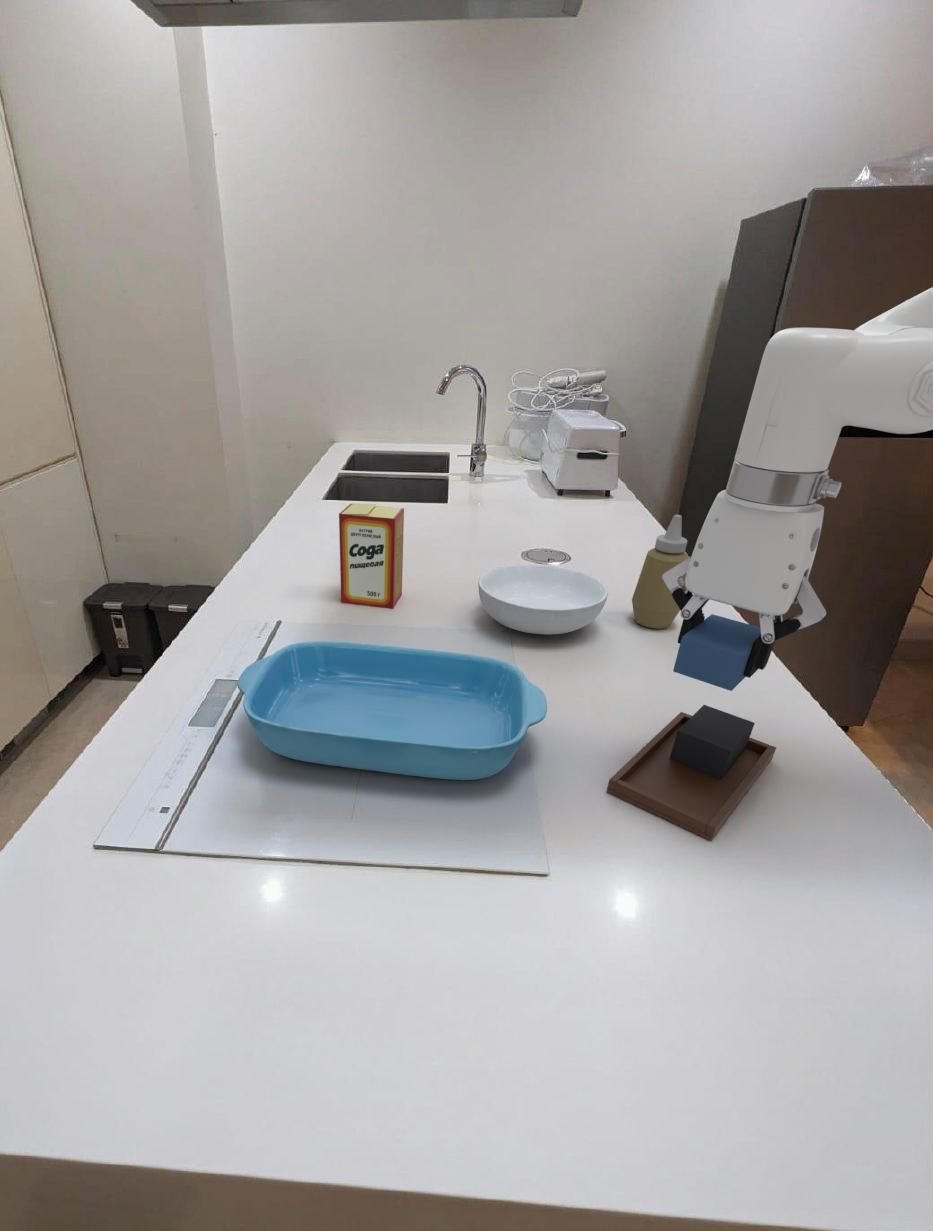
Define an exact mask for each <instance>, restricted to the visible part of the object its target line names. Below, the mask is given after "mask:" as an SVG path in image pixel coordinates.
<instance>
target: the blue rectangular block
mask: <svg viewBox="0 0 933 1231" xmlns="http://www.w3.org/2000/svg"><path fill="white" fill-rule="evenodd" d="M760 633H761V631H760V626H757V625H753V624H749V623H746V622H742V621H739V620H736V619H731V618H726V617H724V616H720V615H716V614H714V613H711V614H710V615H709V616H707V617H705V619H704V621H703V622H702V623H700V624H699V625H698V626H696V627H695V628H694V629H692V630H690V631H689V632H688V633H686V634H685V635H684V636H683V637H682V639H681V643H679V647H678V651H677V654H676V658H675V662H674V666H673V670H672V672H673V673H676V674H679V675H682V676H685V677H688V678H691V679H694V680H697V681H700V682H702V683H703V682H704V683H706V684H709V685H712V686H715V687H717V688H721V689H723V690H726V691H730V692H732V691H734V689H735V688H736V687H737V686H738V685H739V684H740V683H741V682H742V681H743V680H745V678H746V677H745V676H744V675H743V673H744V670H745V667H746V664H747V661H748V658H749V655H750V652H751V649H752V644H753V642H754V641H755V640H756V639H757V638H758V637H759V635H760Z"/></svg>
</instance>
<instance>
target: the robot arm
mask: <svg viewBox="0 0 933 1231" xmlns="http://www.w3.org/2000/svg"><path fill="white" fill-rule="evenodd" d="M845 426H846V427H847V426H851V427H856V428H863V429H868V430H869V429H870V430H875V431H880V432H885V433H891V434H898V435H912V434H920V433H925V432H928V431H932V430H933V286H932V287H930V288H928V289H926V290H924V291H922V292H920V293H919V294H917V295H914V296H913V297H911V298H909V299H906V300H905V301H903V302H901V303H900V304H898V305H896V306H894V307H892V308H891V309H888V310H887V311H885V312H883V313H881V314H879V315H878V316H877V315H876V317H874V318H872V319H870V320H868V321H867V322H865V323H863V324H861V325H859V326H858V327H856V328H855V329H844V328H832V327H831V328H830V327H790V328H785V329H781V330H779V331H777V332H776V333H775V334H773V336H771V338H769V341H768V342H767V344H766V346H765V348H764V351H763V354H762V357H761V361H760V364H759V368H758V372H757V375H756V379H755V383H754V386H753V390H752V394H751V397H750V400H749V404H748V409H747V411H746V415H745V420H744V422H743V426H742V430H741V433H740V437H739V441H738V445H737V448H736V451H735V455H734V460H733V463H732V466H731V469H730V472H729V477H728V480H727V484H726V489H723V490H721V491H719V492H718V493H717V495H716V496H715V499H714V501H713V502H712V504H711V506H710V508H709V511H708V513H707V515H706V518H705V520H704V522H703V525H702V526H701V529H700V532H699V535H698V537H697V540H696V542H695V545H694V548H693V551H692V554H691V555H690V556H689V558H688V559H686V560H684V561H683V562H681V563H680V564H678V565H676V566H675V567H673V568H671V569H670V570H668V571H666V572H665V573H664V574H663V575H662V579H663V581H664V582H665V584H666V586H667V587H668V589H669V590H670V591H671V592H672V597H673V599H674V600H675V602H676V604H677V605H678V607H679V609H680V612H679V614H680V617H681V618H682V619H683V620H682V623H681V627H680V630H679V633H678V637H677V644H680V643H681V639H682V637H683V636H684V635H685V634H686V633H688V632H689V631H690V630H692V629H694V628H695V627H696V626H698V625H699V624H700V623H702V622H703V621H704V620H705V619H706V616H705V613H703V612H704V611H703V608H704V607H705V606H706V605H707V604H708V602H710V601H714V602H718V603H721V604H725V605H728V606H731V607H736V608H739V609H742V610H746V611H750V612H754V613H758V619H759V627H760V631H761V633H760V635H759V637H758V638H757V639H756V640H755V641H754V642H753V644H752V649H751V652H750V655H749V658H748V661H747V664H746V667H745V670H744V673H743V675H744V676H745V678H748V679H750V678H751V677H752V676H753V675H754V674H755V673H756V672H757V671H758V670H761V671H764V669H765V668H766V667H767V664H768V663H769V659H770V657H771V654H772V652H773V648H774V645H775V642H776V641H778V640H780V639H782V638H785V637H787V636H789V635H791V634H794V633H795V632H797V631H799V630H802V629H804V628H805V629H806V628H807V627H810V626H812V625H814V624H816V623H819V622H821V621H822V620H823V619H824V618H825V617H826V615H827V610H826V608H825V607H824V606H823V603H822V602H821V600H820V598H819V597H818V595H817V594H816V591H815V590H814V588H813V587H812V585H811V583H810V581H809V577H810V574H811V571H812V567H813V564H814V561H815V557H816V553H817V549H818V546H819V541H820V537H821V533H822V528H823V521H824V514H825V506H823V505H822V504H819V503H816V502H817V501H819V500H820V499H826V498H831V499H832V498H833V499H836V498H837V496H838V495H839V493H840V490H841V487H842V482H841V481H837V480H834V479H833V478H830V475H829V471H830V469H828V468H829V465H830V462H831V460H832V457H833V454H834V451H835V448H836V446H837V442H838V440H839V437H840V434H841V431H842V429H843V428H844V427H845ZM684 574H686V578H685V584H684V581H683V579H682V577H683V575H684ZM795 604H796V605H797V604H799V606H800V607H801V609H802V612H801V613H799V614H796V615H793V616H791V617H789V618H786V619H783V615H785V614H786V613H788V611H789V610H790V608H791V606H792V605H795Z"/></svg>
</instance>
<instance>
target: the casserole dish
mask: <svg viewBox="0 0 933 1231" xmlns="http://www.w3.org/2000/svg"><path fill="white" fill-rule="evenodd" d="M237 689H238V690H239V692H240V693H242V694H243V695H244V696H243V700H242V705H243V706H242V707H243V710H244V713H245V714H246V716H247V718H248V720H249V722H250V724H251V727H252V728H253V730H254V732H255V734H256V736H257V737H258V738H259V740H260V741H261V743H262V744H263V745H264V746H265V747H267V748H268V749H269V750H270V751H272V752H274V753H275V754H278V755H280V756H283V757H285V758H289V759H293V760H297V761H301V762H305V763H313V764H320V765H327V766H333V767H340V768H349V769H357V770H365V771H373V772H374V771H375V772H381V773H388V774H395V775H403V776H412V777H421V778H429V779H440V780H456V781H457V780H458V781H477V780H478V781H479V780H483V779H486V778H489V777H492V776H494V775H497V774H498V773H500V772H501V771H503V770H504V769H505V768H506V767H507V766H508V765H509V764H510V762H511V761H512V759H513V758H514V756H515V754H516V753H517V751H518V749H519V747H520V745H521V743H522V741H523V740H524V738H525V737H526V734H527V731H528V729H529V728H530V727H533V726H534V725H537V724H539V723H541V722H542V721H543V720H545V718H546V716H547V713H548V702H547V697H546V694H545V693H544V692H543V690H542V689H541V688H540V687H539V686H536V685H535V684H534V683H532V682H530V681H529V680H528V678H527V676H526V674H525V673H524V671H522V670H521V669H520V668H519V667H517V666H516V665H514V664H512V663H510V662H507V661H504V660H502V659H497V658H493V657H489V656H482V655H475V654H468V653H460V652H451V651H442V650H432V649H423V648H411V647H402V646H393V645H392V646H390V645H380V644H372V643H371V644H370V643H362V642H361V643H360V642H349V641H347V642H346V641H333V640H308V641H300V642H295V643H291V644H289V645H286V646H284V647H281V648H280V649H279V650H277V651H275V652H274V653H273V654H270V655H268V656H266V657H263V658H261V659H259V660H256V661H254V662H252V663H251V664H249V665H248V666H247V667H246V668H245V669H244V670H243V671H242V672H241V674H240V675H239V677H238V679H237Z"/></svg>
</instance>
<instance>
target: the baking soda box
mask: <svg viewBox="0 0 933 1231" xmlns="http://www.w3.org/2000/svg"><path fill="white" fill-rule="evenodd" d="M404 524H405V508H404V507H394V506H383V505H377V503H376V504H375V503H350V504H348V505H347V506H346V507H345V508H344V509H342V511H340V512H339V513H338V525H339V526H338V528H339V529H338V530H339V534H338V535H339V568H340V570H339V572H340V603H341V604H349V605H358V606H367V607H376V608H385V609H394V608H395V607H396V605H397V603H398V602H399V601H400V599H401V597H402V595H403V566H404V564H403V562H404Z"/></svg>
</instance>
